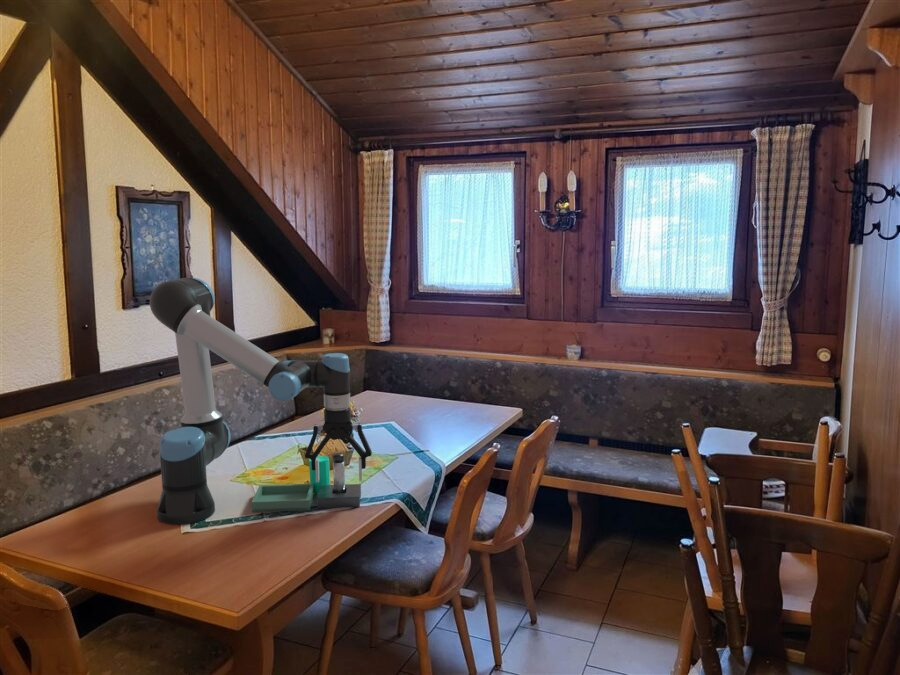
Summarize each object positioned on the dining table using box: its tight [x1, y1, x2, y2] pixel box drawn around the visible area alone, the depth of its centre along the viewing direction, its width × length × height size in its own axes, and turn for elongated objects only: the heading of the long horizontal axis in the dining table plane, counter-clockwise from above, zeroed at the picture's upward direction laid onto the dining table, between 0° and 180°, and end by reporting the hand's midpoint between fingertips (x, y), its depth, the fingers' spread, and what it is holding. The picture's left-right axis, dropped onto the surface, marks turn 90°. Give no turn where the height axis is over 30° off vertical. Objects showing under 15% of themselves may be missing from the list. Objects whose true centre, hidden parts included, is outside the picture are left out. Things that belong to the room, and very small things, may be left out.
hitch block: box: [316, 483, 362, 509], centre depth 210 cm, size 12×10×3 cm
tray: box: [251, 483, 315, 513], centre depth 209 cm, size 16×13×3 cm
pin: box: [332, 452, 346, 494], centre depth 209 cm, size 3×3×14 cm
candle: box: [308, 455, 331, 495], centre depth 218 cm, size 6×6×12 cm
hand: (339, 479), depth 210 cm, fingers open, 12 cm apart
